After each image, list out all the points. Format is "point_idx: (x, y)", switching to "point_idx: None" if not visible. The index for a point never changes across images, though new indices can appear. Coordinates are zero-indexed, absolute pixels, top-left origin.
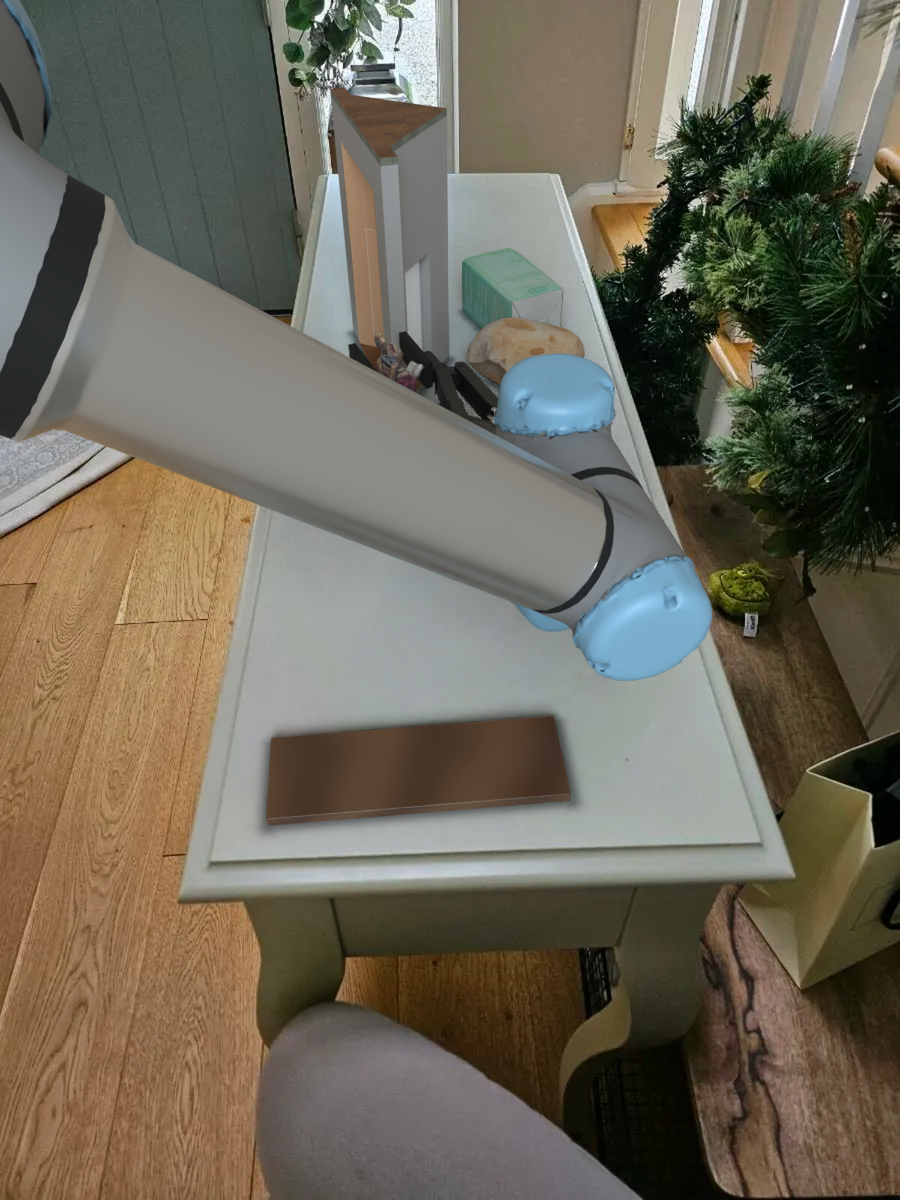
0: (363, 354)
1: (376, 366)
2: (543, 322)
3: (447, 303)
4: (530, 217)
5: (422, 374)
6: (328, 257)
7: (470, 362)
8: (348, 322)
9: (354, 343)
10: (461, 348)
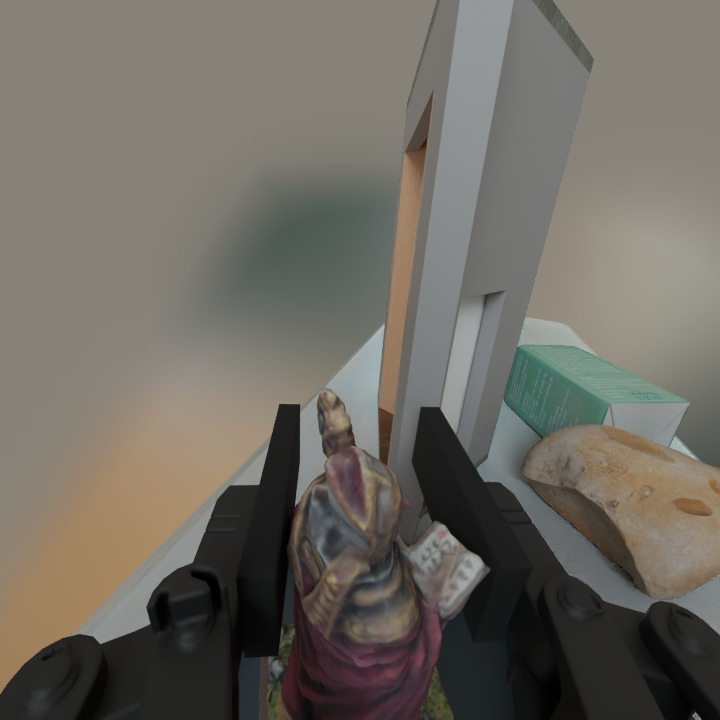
0: (292, 444)
1: (297, 509)
2: None
3: (505, 383)
4: (558, 342)
5: None
6: None
7: (530, 478)
8: (377, 383)
9: (296, 405)
10: (504, 444)
